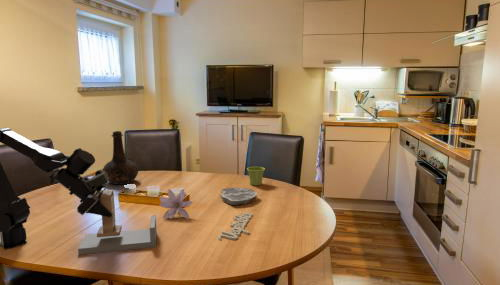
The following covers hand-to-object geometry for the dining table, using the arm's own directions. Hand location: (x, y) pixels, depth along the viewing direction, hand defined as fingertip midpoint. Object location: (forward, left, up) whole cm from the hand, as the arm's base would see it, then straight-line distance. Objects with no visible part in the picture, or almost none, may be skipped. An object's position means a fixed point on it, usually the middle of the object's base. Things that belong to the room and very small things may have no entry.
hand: (112, 212), depth 119 cm
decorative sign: (+39, -22, -12) cm, 46 cm away
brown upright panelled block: (-1, +1, -7) cm, 7 cm away
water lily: (+29, +5, -12) cm, 31 cm away
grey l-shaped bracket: (+1, -1, -11) cm, 11 cm away
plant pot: (+85, +9, -11) cm, 86 cm away
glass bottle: (+39, +66, -11) cm, 77 cm away
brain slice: (+62, 0, -12) cm, 63 cm away
